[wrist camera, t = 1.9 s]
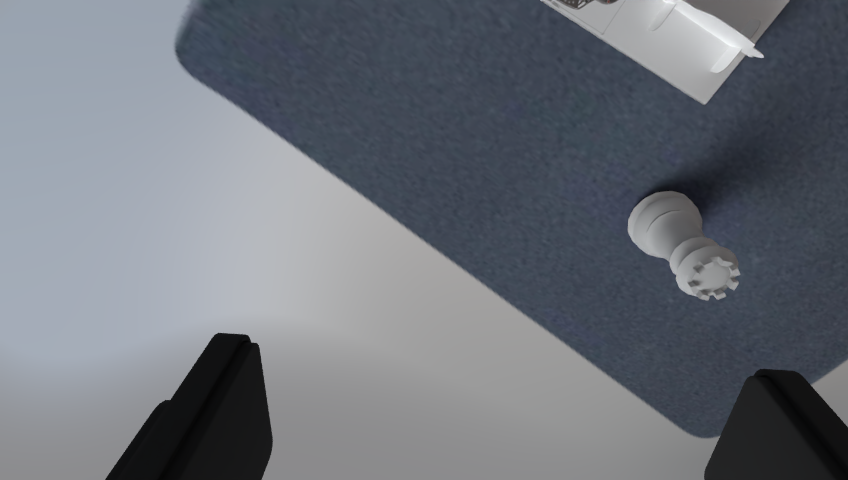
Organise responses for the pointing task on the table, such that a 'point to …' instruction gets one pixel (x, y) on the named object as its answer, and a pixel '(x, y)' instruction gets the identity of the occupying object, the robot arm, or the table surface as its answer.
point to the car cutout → (678, 35)
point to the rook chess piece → (683, 244)
